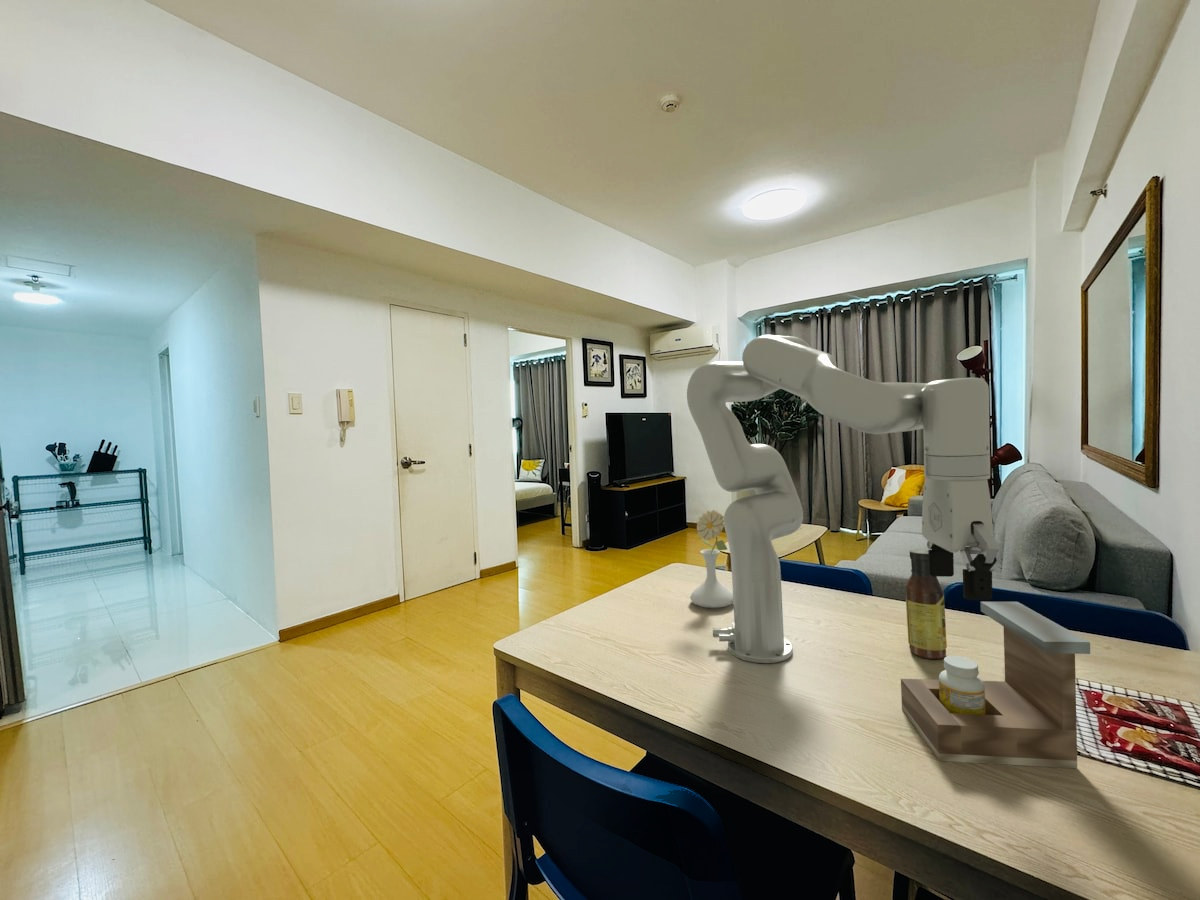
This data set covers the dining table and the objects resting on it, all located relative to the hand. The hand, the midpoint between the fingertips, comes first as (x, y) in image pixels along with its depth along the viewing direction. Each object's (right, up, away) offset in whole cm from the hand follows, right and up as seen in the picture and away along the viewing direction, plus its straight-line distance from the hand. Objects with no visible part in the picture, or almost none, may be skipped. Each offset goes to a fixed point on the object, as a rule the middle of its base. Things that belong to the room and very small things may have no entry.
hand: (958, 586), depth 70 cm
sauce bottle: (+12, -20, +25) cm, 34 cm away
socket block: (+4, -21, 0) cm, 22 cm away
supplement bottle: (+1, -21, +1) cm, 21 cm away
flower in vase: (-21, -21, +57) cm, 64 cm away
